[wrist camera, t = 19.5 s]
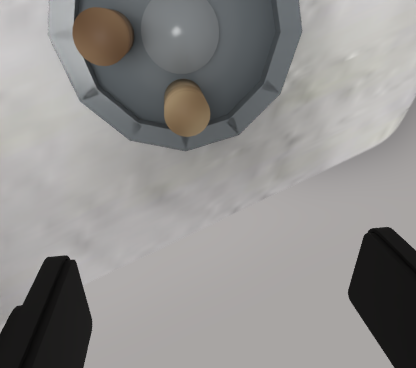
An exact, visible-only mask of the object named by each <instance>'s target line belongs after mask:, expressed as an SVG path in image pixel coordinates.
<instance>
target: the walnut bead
mask: <svg viewBox="0 0 416 368" xmlns="http://www.w3.org/2000/svg"><path fill="white" fill-rule="evenodd" d="M72 35H73V41H74V44H75V46H76V48H77V50H78V51H79V53H80V54H81V55H82V56H83V57H84V58H85V59H86V60H87V61H89V62H91V63H93V64H95V65H99V66H109V65H113V64H115V63H117V62H118V61H120V60H121V59H122V58H123V57H124V56H125V55H126V54H127V53H128V52H129V51H130V49H131V48H132V46H133V43H134V30H133V27H132V25H131V23H130V21H129V20H128V19H127V17H126V16H124V15H123V14H122V13H120V12H118V11H116V10H112V9H106V8H100V7H92V8H88V9H86V10H84V11H82V12H81V13H80V14H79V15H78V16H77V18H76V19H75V21H74V24H73V29H72Z"/></svg>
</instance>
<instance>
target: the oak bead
mask: <svg viewBox="0 0 416 368" xmlns="http://www.w3.org/2000/svg"><path fill="white" fill-rule="evenodd" d="M164 118H165V122H166V124H167V126H168V127H169V129H170V130H171V131H172V132H174V133H175V134H177V135H180V136H184V137H190V136H195V135H197V134H199V133H201V132H202V131H203V130H204V129H205V128H206V126H207V125H208V123H209V120H210V108H209V105H208V103H207V101H206V99H205V97H204V95H203V93H202V91H201V89H200V88H199V86H198V85H197V84H196V83H195V82H193V81H191V80H189V79H178V80H175V81H173V82H172V83H171V84H170V85H169V86H168V87H167V89H166V91H165V94H164Z"/></svg>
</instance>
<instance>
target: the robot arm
mask: <svg viewBox="0 0 416 368" xmlns="http://www.w3.org/2000/svg"><path fill="white" fill-rule="evenodd" d="M348 295H349V299H350V301H351V303H352V304H353V305H354V307H355V309H356V310H357V312H358V313H359V315H360V316H361V318H362V319H363V321H364V322H365V324H366V325H367V327H368V328H369V330H370V331H371V333H372V334H373V336H374V337H375V339H376V340H377V342H378V343H379V345H380V346H381V348H382V349H383V351H384V353H385V354H386V355H387V357H388V359H389V360H390V362H391V363H392V365H393V366H394V368H416V251H415V249H414V248H412V247H411V246H410V245H409V244H408V243H407V242H406V241H405V240H404V239H403V238H402V237H400V236H399V235H398V234H397V233H396V232H395V231H394V230H393V229H391V228H389V227H383V228H372V229H370V230H369V231H368V233H367V234H365V235H364V238H363V241H362V244H361V248H360V251H359V255H358V258H357V262H356V265H355V269H354V272H353V275H352V279H351V283H350V286H349V289H348ZM91 331H92V318H91V314H90V311H89V307H88V303H87V300H86V296H85V292H84V289H83V285H82V282H81V278H80V274H79V271H78V267H77V263H76V261H75V260H70V258H69V257H68V256H55V257H47V258H46V259H45V260H44V262H43V264H42V266H41V268H40V270H39V272H38V274H37V276H36V279H35V281H34V283H33V285H32V287H31V289H30V291H29V293H28V295H27V297H26V299H25V301H24V303H23V305H21V306H17V307H16V308H14V309H13V311H12V312H11V314H10V316H9V318H8V320H7V322H6V324H5V326H4V328H3V329H2V331H1V333H0V368H83V367H84V362H85V358H86V353H87V349H88V344H89V340H90V336H91Z"/></svg>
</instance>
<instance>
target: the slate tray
mask: <svg viewBox="0 0 416 368" xmlns="http://www.w3.org/2000/svg"><path fill="white" fill-rule="evenodd" d="M92 7H100V8H106V9H112V10H116V11H118V12H120V13H122V14H123V15H124V16H126V17H127V19H128V20H129V21H130V23H131V25H132V27H133V30H134V43H133V46H132V48H131V49H130V51H129V52H128V53H127V54H126V55H125V56H124V57H123V58H122V59H121V60H120V61H118V62H117V63H115V64H113V65H109V66H99V65H95V64H93V63H91V62H89V61H87V60H86V59H85V58H84V57H83V56H82V55H81V54H80V53H79V51H78V50H77V48H76V46H75V44H74V41H73V35H72V29H73V24H74V21H75V19H76V18H77V16H78V15H79V14H80V13H81V12H82V11H84V10H86V9H88V8H92ZM301 33H302V26H301V16H300V7H299V0H49V13H48V36H49V38H50V40H51V43H52V45H53V47H54V49H55V51H56V53H57V55H58V57H59V59H60V61H61V63H62V65H63V67H64V69H65V71H66V74H67V76H68V78H69V80H70V82H71V84H72V86H73V88H74V90H75V92H76V94H77V96H78V98H79V100H80V102H81V103H83V104H84V105H85V106H87V107H88V108H89V109H90V110H92V111H93V112H94V113H96V114H97V115H98V116H99V117H101V118H102V119H103V120H105V121H106V122H107V123H108V124H110V125H111V126H112V127H113V128H115V129H116V130H117V131H119V132H120V133H121V134H122V135H124V136H125V137H126V138H128V139H129V140H130V141H135V142H141V143H146V144H151V145H156V146H161V147H167V148H172V149H177V150H182V151H188V150H191V149H195V148H198V147H201V146H204V145H208V144H211V143H214V142H217V141H221V140H224V139H227V138H230V137H234V136H237V135H239V134H240V133H241V132H242V131H243V130H244V129H245V128H246V127H247V126H248V125H249V124H250V123H251V122H252V121H253V120H254V119H255V118H256V117H257V116H258V115H259V114H260V113H261V112H262V111H263V110H264V109H265V108H266V107H267V106H268V105H269V104H270V103H271V102H272V101H274V100H275V99H276V98H277V97H278V96H279V95H280V93H281V90H282V87H283V85H284V82H285V79H286V76H287V73H288V70H289V67H290V65H291V62H292V59H293V56H294V53H295V50H296V48H297V45H298V42H299V39H300V36H301ZM178 79H189V80H191V81H193V82H195V83H196V84H197V85H198V86H199V88H200V89H201V91H202V93H203V95H204V97H205V99H206V101H207V103H208V105H209V108H210V120H209V123H208V125H207V126H206V128H205V129H204V130H203V131H202V132H201V133H199V134H197V135H195V136H190V137H184V136H180V135H177V134H175V133H174V132H172V131H171V130H170V129H169V127H168V126H167V124H166V122H165V118H164V94H165V91H166V89H167V87H168V86H169V85H170V84H171V83H172V82H173V81H175V80H178Z"/></svg>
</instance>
